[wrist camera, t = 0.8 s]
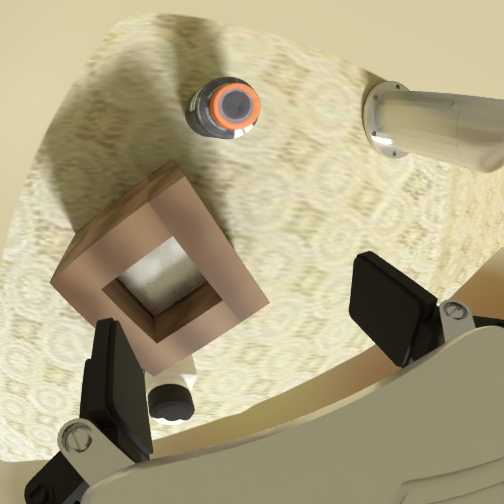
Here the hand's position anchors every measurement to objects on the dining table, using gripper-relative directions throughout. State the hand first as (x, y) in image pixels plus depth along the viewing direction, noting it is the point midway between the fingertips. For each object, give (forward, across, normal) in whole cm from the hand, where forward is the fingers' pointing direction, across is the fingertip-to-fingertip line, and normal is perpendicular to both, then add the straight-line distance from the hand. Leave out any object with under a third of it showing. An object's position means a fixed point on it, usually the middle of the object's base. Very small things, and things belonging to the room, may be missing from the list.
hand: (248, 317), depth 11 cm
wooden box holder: (+26, +4, +7) cm, 28 cm away
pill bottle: (+27, -5, -8) cm, 28 cm away
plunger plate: (+19, +4, +7) cm, 21 cm away
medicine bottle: (+26, +8, +25) cm, 38 cm away
